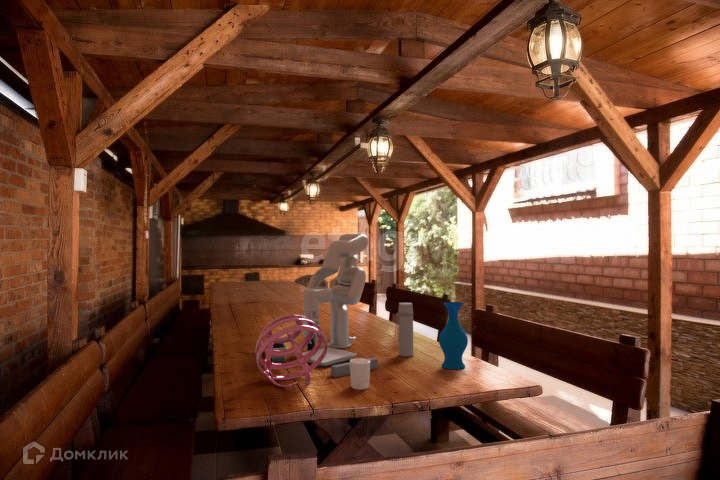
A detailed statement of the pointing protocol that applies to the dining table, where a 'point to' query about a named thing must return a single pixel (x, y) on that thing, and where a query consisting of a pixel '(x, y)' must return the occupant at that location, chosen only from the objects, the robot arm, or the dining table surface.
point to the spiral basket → (295, 348)
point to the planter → (278, 347)
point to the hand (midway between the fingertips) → (311, 351)
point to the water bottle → (405, 329)
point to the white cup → (360, 373)
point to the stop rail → (345, 368)
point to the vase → (453, 339)
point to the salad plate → (331, 356)
